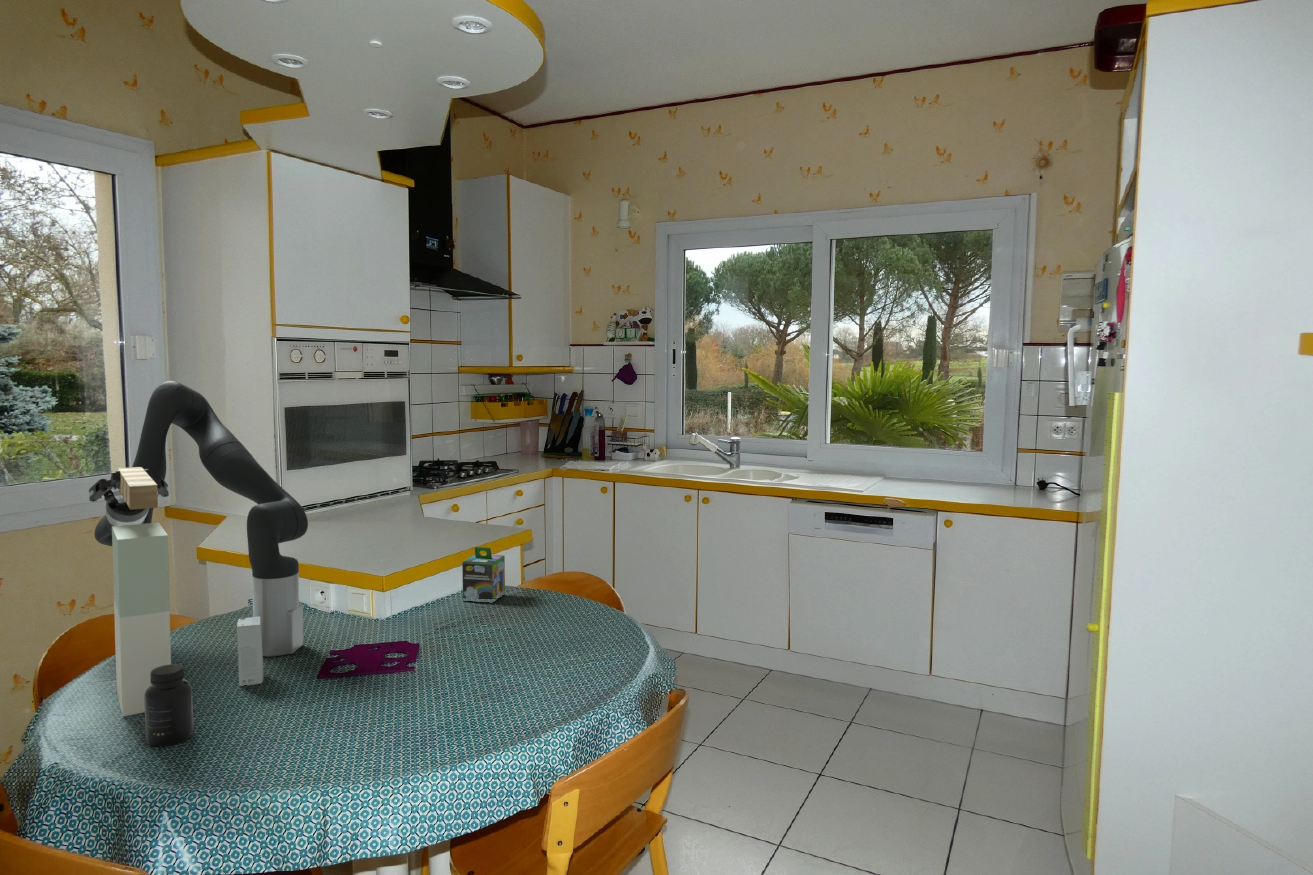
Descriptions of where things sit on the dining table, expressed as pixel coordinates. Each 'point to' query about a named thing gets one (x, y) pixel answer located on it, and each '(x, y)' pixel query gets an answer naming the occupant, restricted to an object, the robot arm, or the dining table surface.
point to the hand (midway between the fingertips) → (132, 474)
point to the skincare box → (250, 651)
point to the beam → (138, 488)
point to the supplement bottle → (168, 706)
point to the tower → (140, 609)
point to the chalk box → (483, 575)
